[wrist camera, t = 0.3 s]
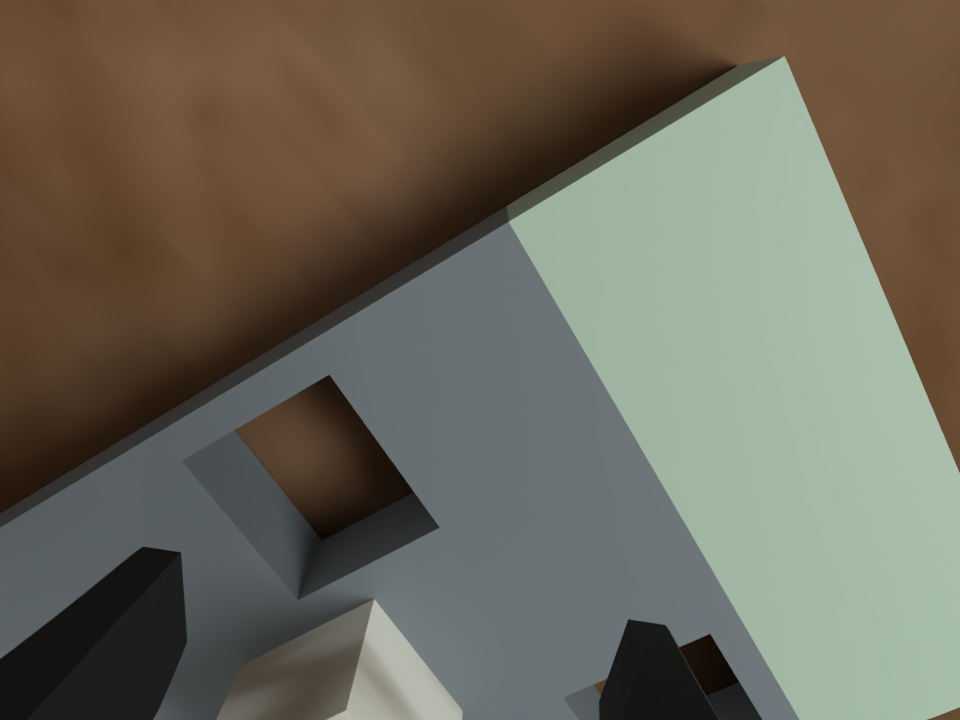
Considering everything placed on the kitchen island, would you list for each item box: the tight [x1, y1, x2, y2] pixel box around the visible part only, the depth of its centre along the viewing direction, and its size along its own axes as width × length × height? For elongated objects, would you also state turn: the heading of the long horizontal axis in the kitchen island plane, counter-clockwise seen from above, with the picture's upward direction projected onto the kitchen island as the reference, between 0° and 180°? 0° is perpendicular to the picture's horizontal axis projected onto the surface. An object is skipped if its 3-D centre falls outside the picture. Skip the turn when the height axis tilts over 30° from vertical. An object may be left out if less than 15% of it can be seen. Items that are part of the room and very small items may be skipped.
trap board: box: [0, 56, 960, 720], centre depth 22 cm, size 28×20×3 cm
